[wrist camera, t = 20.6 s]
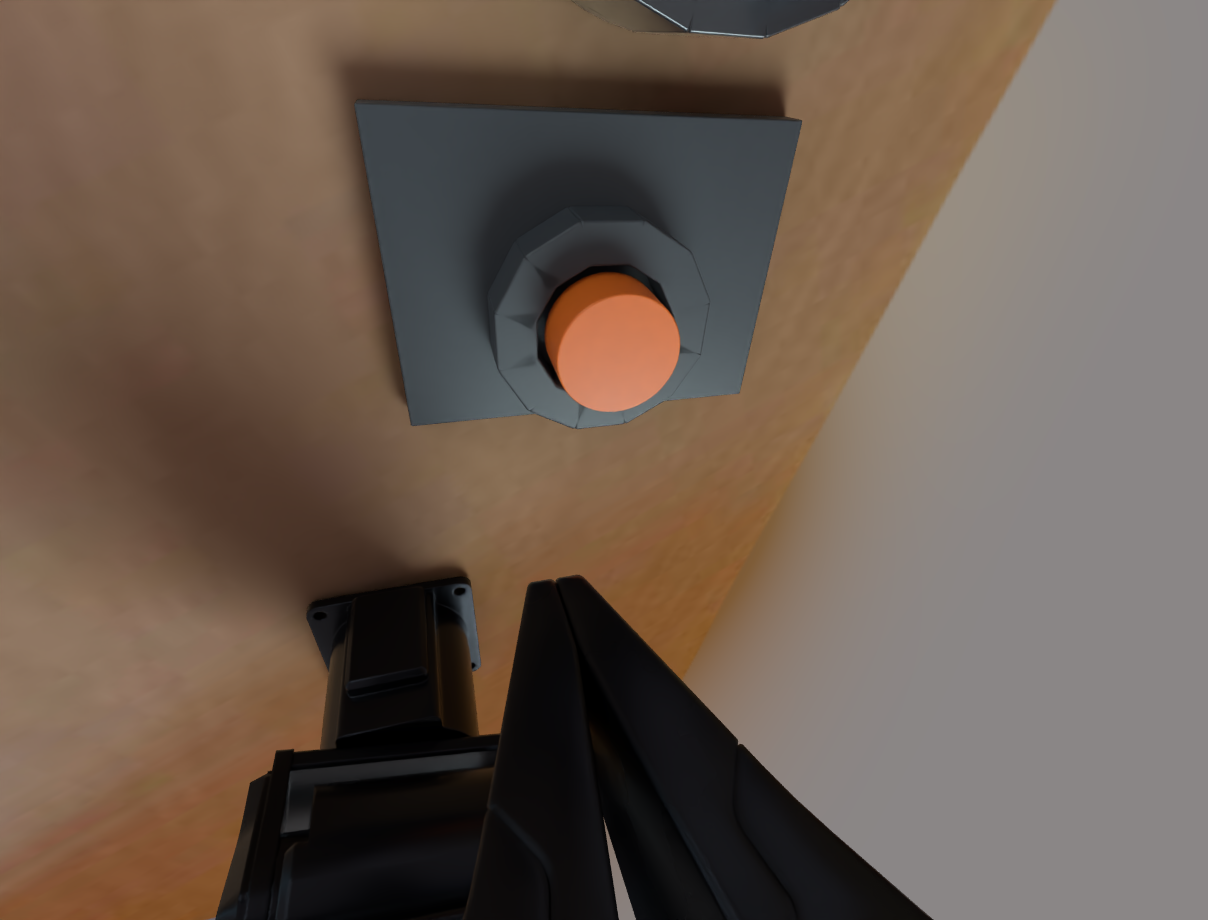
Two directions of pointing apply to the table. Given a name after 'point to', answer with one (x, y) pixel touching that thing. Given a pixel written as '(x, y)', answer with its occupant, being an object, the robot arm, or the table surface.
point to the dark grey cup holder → (710, 16)
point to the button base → (565, 241)
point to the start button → (611, 342)
